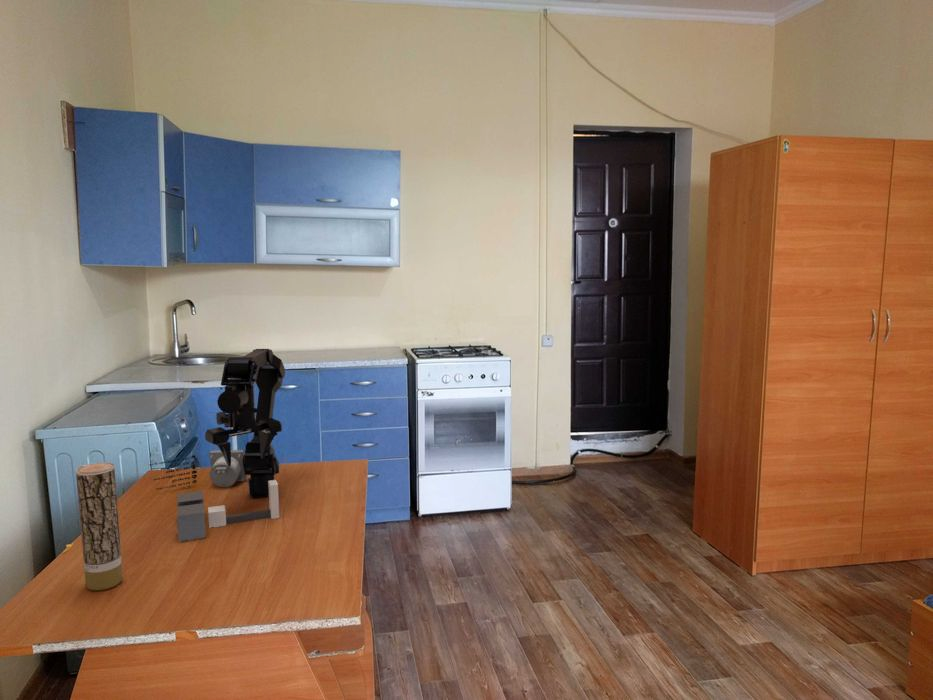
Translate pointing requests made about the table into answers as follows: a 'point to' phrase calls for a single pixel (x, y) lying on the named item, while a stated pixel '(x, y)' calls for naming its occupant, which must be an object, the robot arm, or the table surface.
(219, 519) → the grey rod with blocks
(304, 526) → the table surface
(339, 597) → the table surface
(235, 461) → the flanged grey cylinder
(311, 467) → the table surface
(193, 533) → the block
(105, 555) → the wooden log
